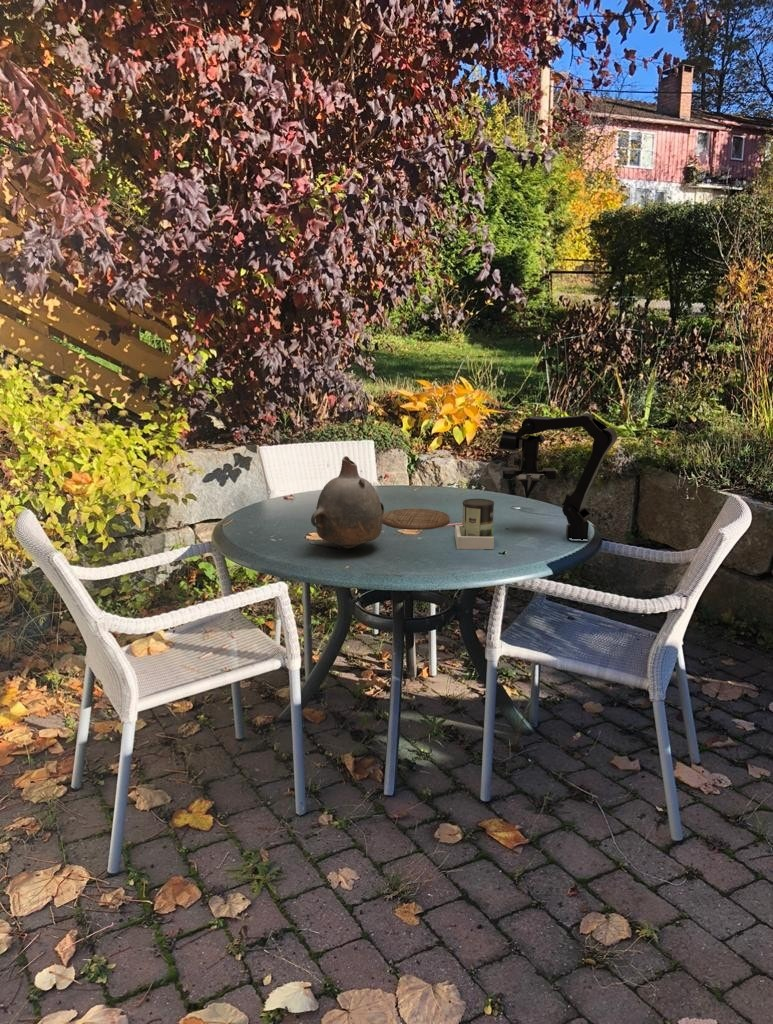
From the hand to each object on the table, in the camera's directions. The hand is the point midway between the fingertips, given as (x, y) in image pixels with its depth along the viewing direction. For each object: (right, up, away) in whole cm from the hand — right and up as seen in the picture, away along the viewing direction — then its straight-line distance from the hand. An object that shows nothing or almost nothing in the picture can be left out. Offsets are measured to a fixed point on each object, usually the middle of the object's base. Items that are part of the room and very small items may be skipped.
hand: (526, 497), depth 275 cm
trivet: (-38, -9, +17) cm, 43 cm away
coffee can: (-18, -15, -11) cm, 26 cm away
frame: (-19, -15, -11) cm, 27 cm away
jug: (-61, -17, -18) cm, 65 cm away
